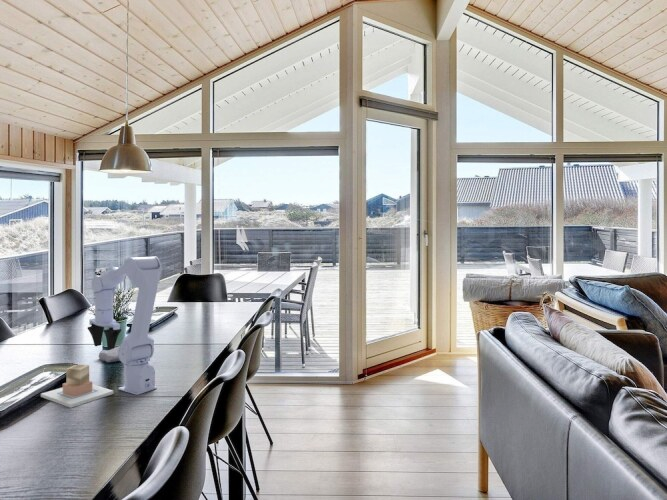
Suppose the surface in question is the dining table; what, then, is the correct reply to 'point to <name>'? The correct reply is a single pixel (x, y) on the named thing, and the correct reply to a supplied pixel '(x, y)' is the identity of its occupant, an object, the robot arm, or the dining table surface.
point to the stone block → (109, 355)
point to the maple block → (77, 375)
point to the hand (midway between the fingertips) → (104, 347)
